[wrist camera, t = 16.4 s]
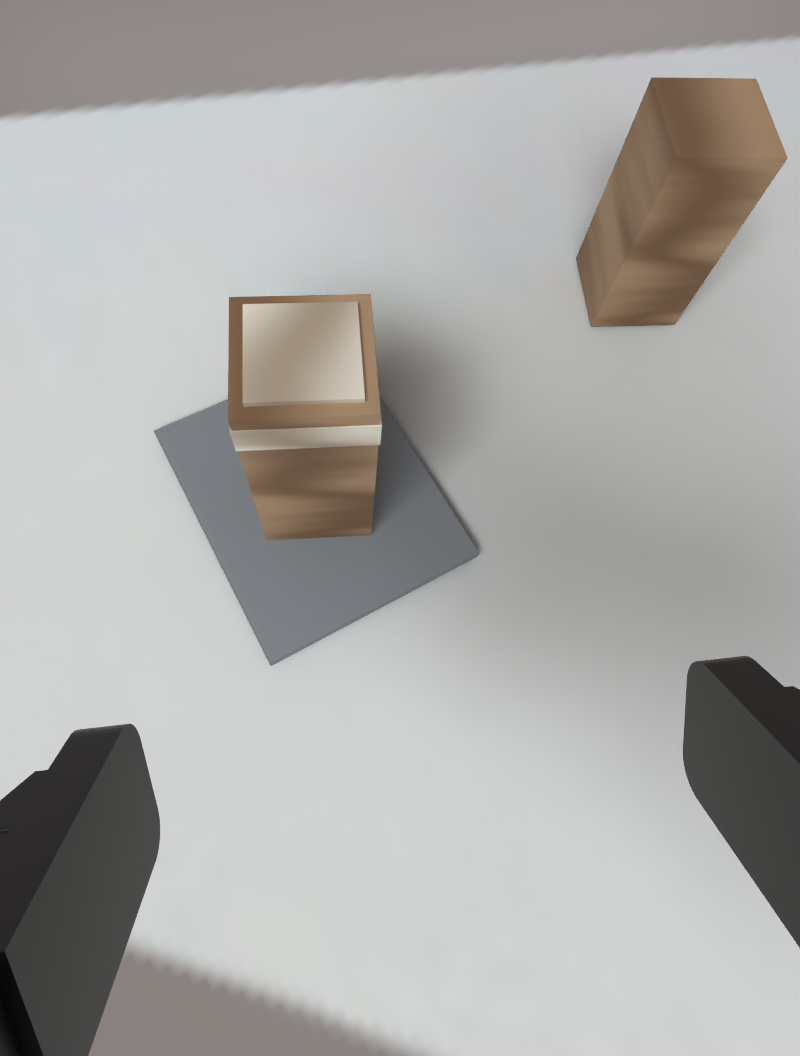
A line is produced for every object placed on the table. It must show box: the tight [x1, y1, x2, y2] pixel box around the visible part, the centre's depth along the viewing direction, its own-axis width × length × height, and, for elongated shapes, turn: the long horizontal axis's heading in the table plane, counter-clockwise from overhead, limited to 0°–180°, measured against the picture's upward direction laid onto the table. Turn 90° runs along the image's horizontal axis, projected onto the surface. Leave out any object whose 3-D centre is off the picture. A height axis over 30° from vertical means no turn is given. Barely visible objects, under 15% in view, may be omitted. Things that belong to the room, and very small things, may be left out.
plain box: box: [576, 78, 787, 326], centre depth 32 cm, size 4×4×10 cm
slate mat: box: [154, 396, 479, 666], centre depth 31 cm, size 10×12×1 cm
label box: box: [228, 294, 382, 541], centre depth 26 cm, size 5×5×10 cm
